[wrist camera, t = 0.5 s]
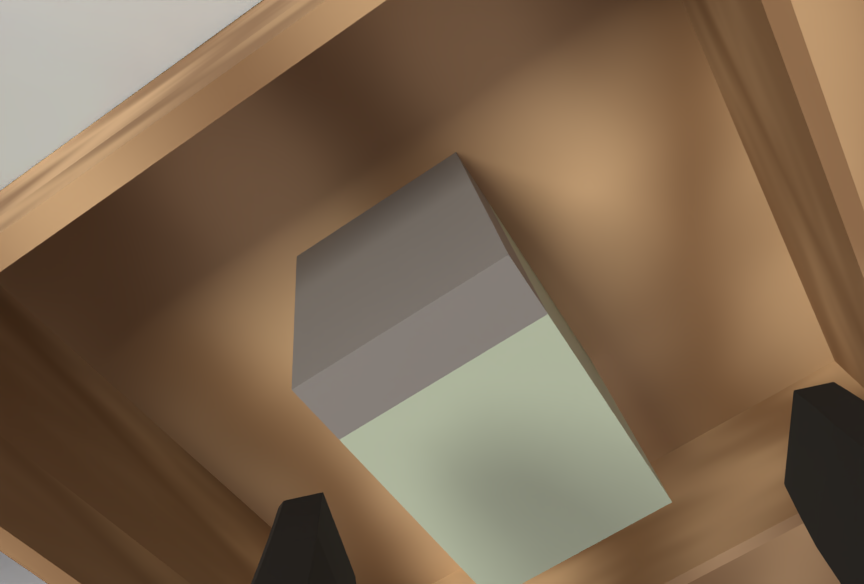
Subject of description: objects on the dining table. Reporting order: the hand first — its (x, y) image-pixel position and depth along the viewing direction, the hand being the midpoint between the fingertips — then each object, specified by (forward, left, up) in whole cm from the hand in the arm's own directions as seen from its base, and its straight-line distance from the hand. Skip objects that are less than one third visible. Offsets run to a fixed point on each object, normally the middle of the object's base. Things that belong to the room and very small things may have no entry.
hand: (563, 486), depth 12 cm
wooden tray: (+1, -4, -10) cm, 11 cm away
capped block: (-1, -2, -10) cm, 10 cm away
